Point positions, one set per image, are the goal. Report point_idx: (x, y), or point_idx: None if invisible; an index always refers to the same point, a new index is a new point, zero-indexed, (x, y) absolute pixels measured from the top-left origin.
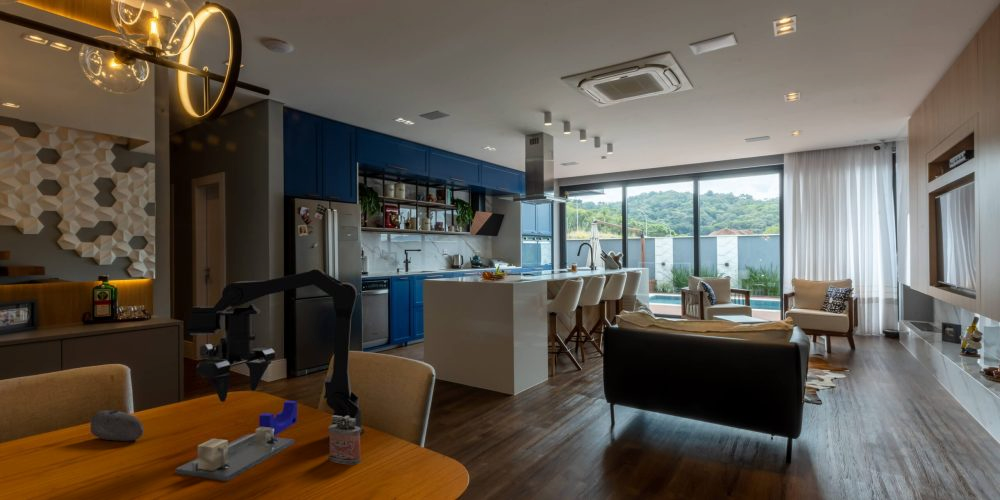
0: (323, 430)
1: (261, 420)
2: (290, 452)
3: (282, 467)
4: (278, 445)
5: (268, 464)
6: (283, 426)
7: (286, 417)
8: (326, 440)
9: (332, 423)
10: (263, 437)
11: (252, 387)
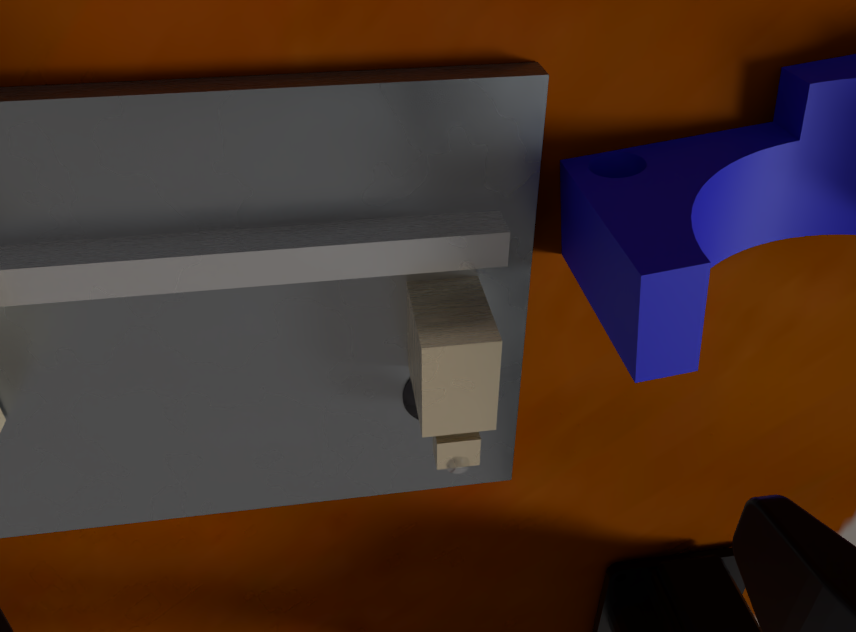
0: (740, 461)
1: (617, 268)
2: (378, 524)
3: (201, 609)
4: (394, 470)
5: (193, 540)
6: (765, 235)
7: None
8: (583, 560)
9: (682, 621)
10: (414, 379)
11: (774, 572)
